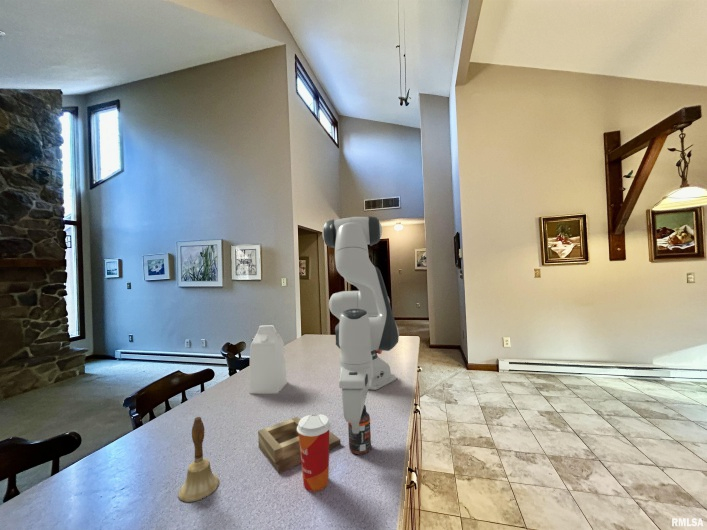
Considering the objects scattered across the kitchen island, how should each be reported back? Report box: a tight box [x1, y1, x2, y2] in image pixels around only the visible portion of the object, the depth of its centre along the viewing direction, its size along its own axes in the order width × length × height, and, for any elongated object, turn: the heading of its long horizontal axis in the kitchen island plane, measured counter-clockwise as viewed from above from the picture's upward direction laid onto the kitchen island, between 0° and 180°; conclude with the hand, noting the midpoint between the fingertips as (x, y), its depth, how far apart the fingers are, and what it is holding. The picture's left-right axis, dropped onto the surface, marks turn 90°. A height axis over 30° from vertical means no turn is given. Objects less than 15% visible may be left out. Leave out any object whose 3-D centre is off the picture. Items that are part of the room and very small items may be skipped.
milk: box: [248, 324, 288, 394], centre depth 127 cm, size 12×12×26 cm
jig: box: [257, 416, 341, 474], centre depth 83 cm, size 18×14×4 cm
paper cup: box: [297, 413, 332, 493], centre depth 69 cm, size 8×8×14 cm
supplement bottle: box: [347, 404, 372, 455], centre depth 81 cm, size 6×6×11 cm
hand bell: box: [177, 416, 220, 503], centre depth 68 cm, size 8×8×16 cm
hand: (358, 422), depth 80 cm, fingers open, 8 cm apart
